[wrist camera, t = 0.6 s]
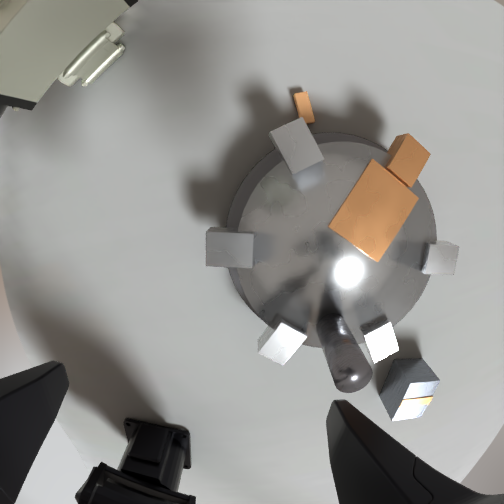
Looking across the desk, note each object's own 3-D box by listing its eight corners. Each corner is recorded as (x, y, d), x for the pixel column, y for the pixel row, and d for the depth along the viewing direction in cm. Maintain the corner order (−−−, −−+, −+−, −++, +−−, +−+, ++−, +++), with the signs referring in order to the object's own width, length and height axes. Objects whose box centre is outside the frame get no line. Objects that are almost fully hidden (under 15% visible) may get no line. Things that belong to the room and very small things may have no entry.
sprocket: (408, 348, 20) (451, 405, 13) (204, 335, 19) (183, 406, 13) (451, 156, 16) (523, 156, 9) (225, 110, 16) (206, 69, 9)
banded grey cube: (406, 393, 22) (421, 417, 19) (378, 395, 22) (392, 421, 19) (421, 357, 21) (440, 381, 18) (393, 358, 21) (411, 384, 18)
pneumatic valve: (178, 20, 15) (113, -91, 4) (60, 133, 17) (-70, 123, 6) (138, -12, 14) (70, -101, 3) (33, 92, 16) (-78, 69, 5)
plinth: (395, 336, 21) (400, 342, 20) (218, 324, 20) (216, 331, 20) (435, 128, 17) (442, 126, 16) (243, 86, 17) (242, 81, 16)
